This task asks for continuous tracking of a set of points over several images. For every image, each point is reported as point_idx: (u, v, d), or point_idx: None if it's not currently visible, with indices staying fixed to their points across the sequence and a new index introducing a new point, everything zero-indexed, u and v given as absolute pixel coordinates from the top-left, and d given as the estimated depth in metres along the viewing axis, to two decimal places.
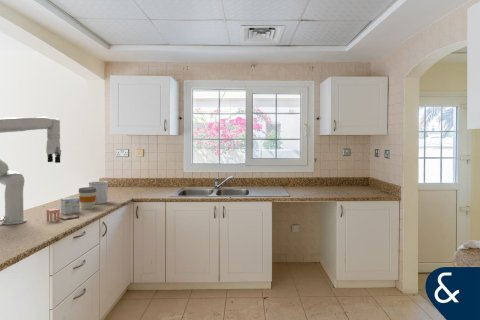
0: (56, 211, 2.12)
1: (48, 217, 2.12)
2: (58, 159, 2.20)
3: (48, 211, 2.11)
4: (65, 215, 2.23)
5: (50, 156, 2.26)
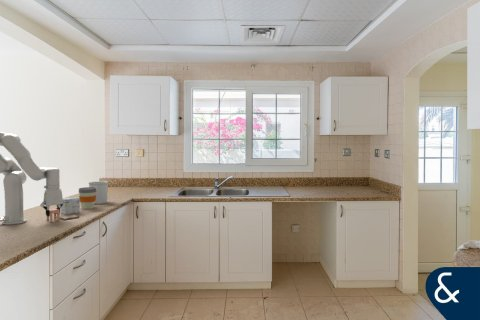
0: (56, 211, 2.12)
1: (48, 217, 2.12)
2: None
3: None
4: (65, 215, 2.23)
5: None
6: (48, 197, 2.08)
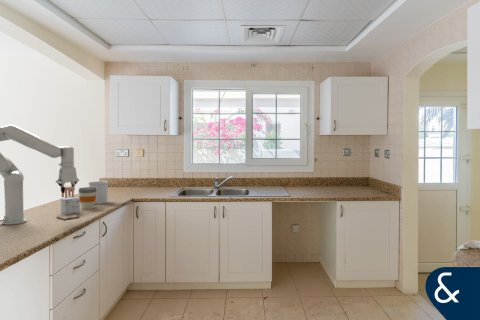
0: (71, 188, 2.19)
1: (63, 194, 2.19)
2: None
3: None
4: (65, 215, 2.23)
5: None
6: (63, 174, 2.15)
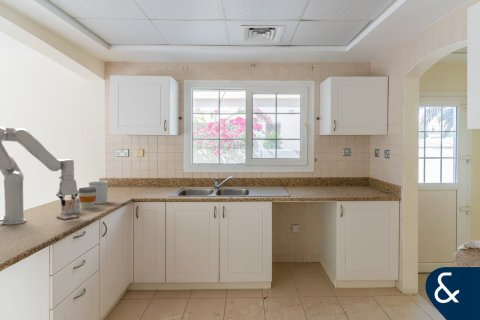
0: (71, 201, 2.19)
1: (63, 207, 2.20)
2: None
3: None
4: (65, 215, 2.23)
5: None
6: (63, 187, 2.15)
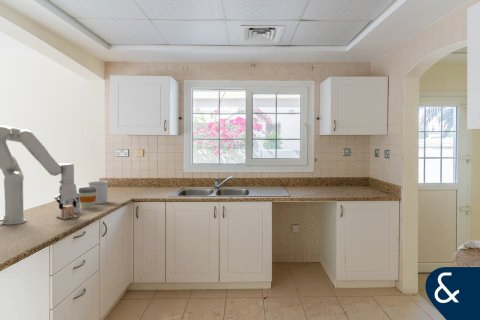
0: (71, 207, 2.20)
1: (63, 213, 2.20)
2: None
3: (63, 207, 2.18)
4: None
5: None
6: (63, 191, 2.15)
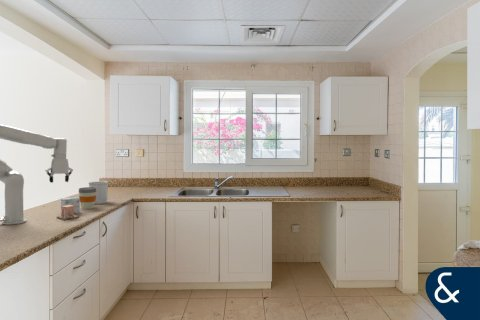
0: (71, 207, 2.20)
1: (63, 213, 2.20)
2: None
3: (63, 207, 2.18)
4: None
5: None
6: (55, 165, 2.17)
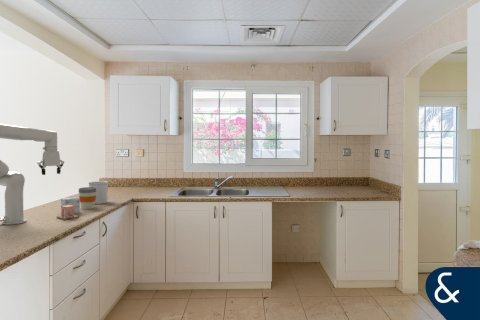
0: (71, 207, 2.20)
1: (63, 213, 2.20)
2: None
3: (63, 207, 2.18)
4: None
5: None
6: (46, 158, 2.21)
